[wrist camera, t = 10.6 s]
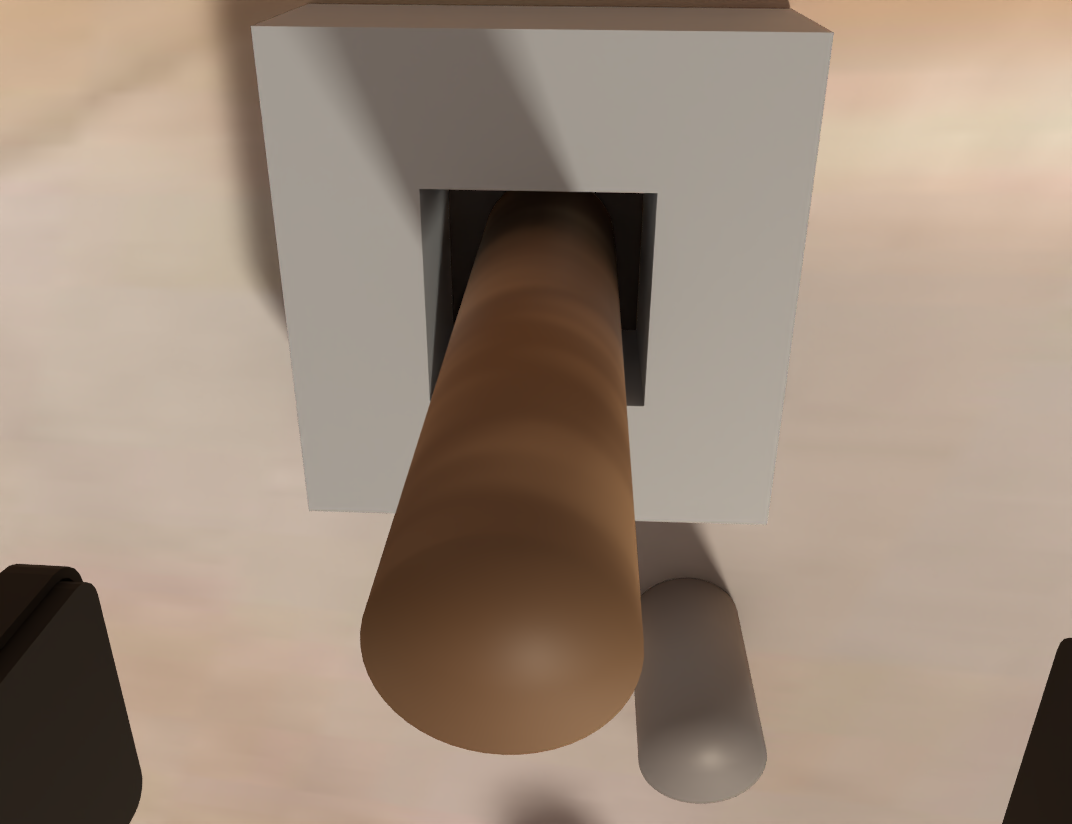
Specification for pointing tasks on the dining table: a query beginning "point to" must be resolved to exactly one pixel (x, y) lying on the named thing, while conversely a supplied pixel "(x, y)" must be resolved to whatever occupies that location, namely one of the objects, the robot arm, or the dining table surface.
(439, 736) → the long pin
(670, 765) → the short pin
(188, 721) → the dining table surface
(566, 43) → the hole block
